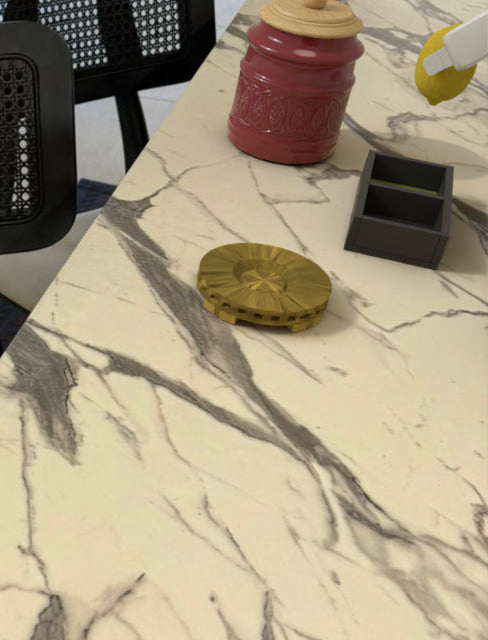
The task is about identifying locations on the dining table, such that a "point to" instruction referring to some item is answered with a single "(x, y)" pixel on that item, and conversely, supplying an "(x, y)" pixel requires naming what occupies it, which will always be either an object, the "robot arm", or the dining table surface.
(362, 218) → the pad holder
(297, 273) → the gold flat round disc
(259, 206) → the dining table surface
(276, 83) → the kitchen canister
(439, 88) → the lemon
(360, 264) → the dining table surface
